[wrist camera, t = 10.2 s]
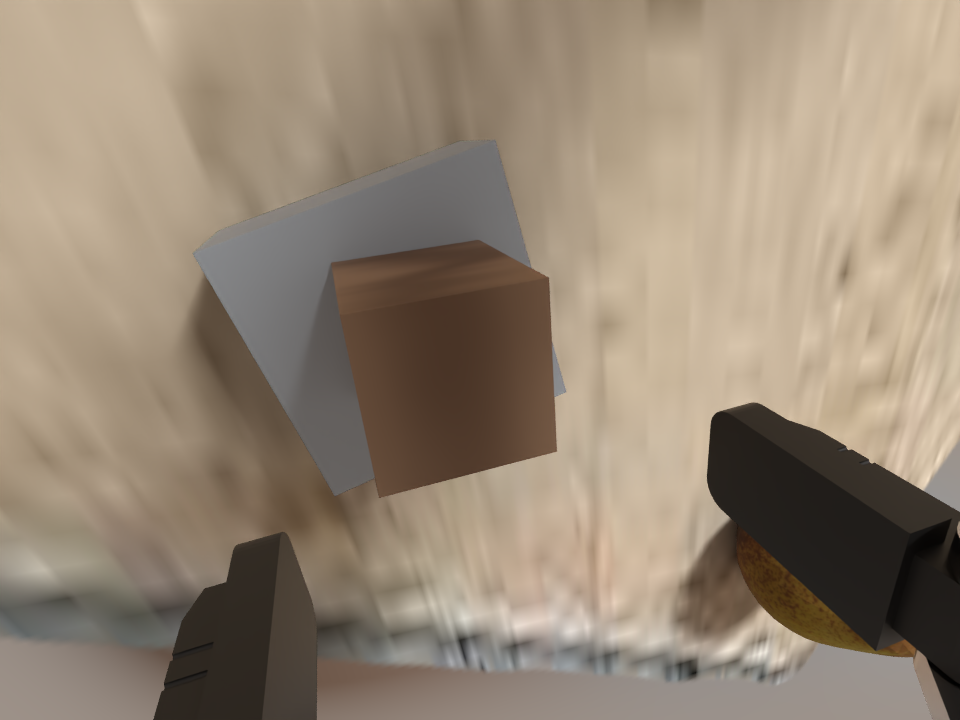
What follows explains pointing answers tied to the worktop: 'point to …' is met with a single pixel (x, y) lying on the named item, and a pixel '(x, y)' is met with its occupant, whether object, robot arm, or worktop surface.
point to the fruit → (799, 602)
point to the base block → (311, 290)
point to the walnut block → (448, 361)
